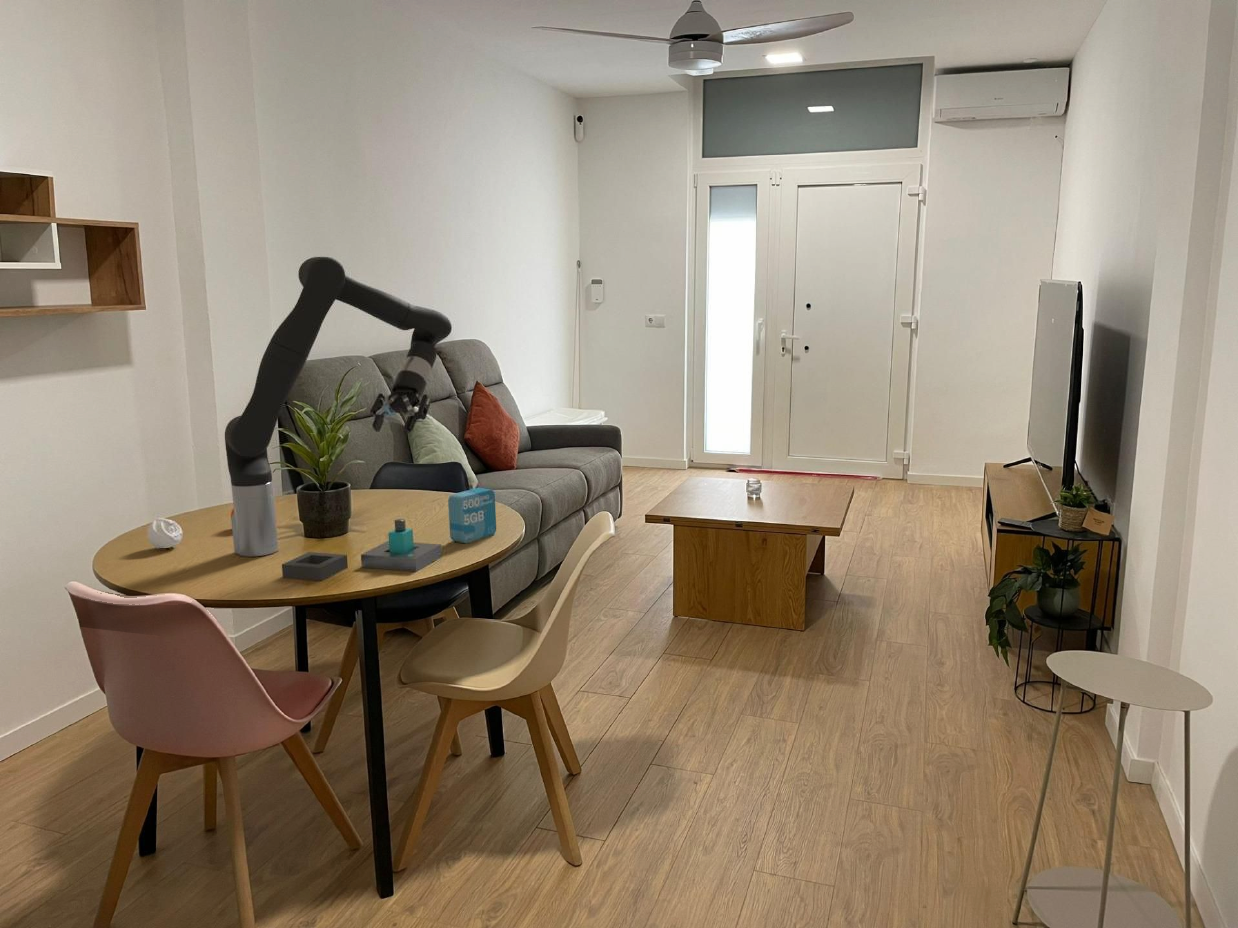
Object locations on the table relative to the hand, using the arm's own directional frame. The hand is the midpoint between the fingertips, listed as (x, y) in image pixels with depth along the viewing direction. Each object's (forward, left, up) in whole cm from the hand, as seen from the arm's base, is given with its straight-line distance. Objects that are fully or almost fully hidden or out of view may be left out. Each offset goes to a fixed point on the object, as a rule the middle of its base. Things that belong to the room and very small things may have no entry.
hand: (391, 430), depth 227 cm
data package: (+16, +9, -29) cm, 34 cm away
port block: (+9, -14, -28) cm, 33 cm away
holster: (-6, -26, -28) cm, 39 cm away
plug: (+9, -14, -29) cm, 33 cm away
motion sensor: (-55, -18, -29) cm, 65 cm away
